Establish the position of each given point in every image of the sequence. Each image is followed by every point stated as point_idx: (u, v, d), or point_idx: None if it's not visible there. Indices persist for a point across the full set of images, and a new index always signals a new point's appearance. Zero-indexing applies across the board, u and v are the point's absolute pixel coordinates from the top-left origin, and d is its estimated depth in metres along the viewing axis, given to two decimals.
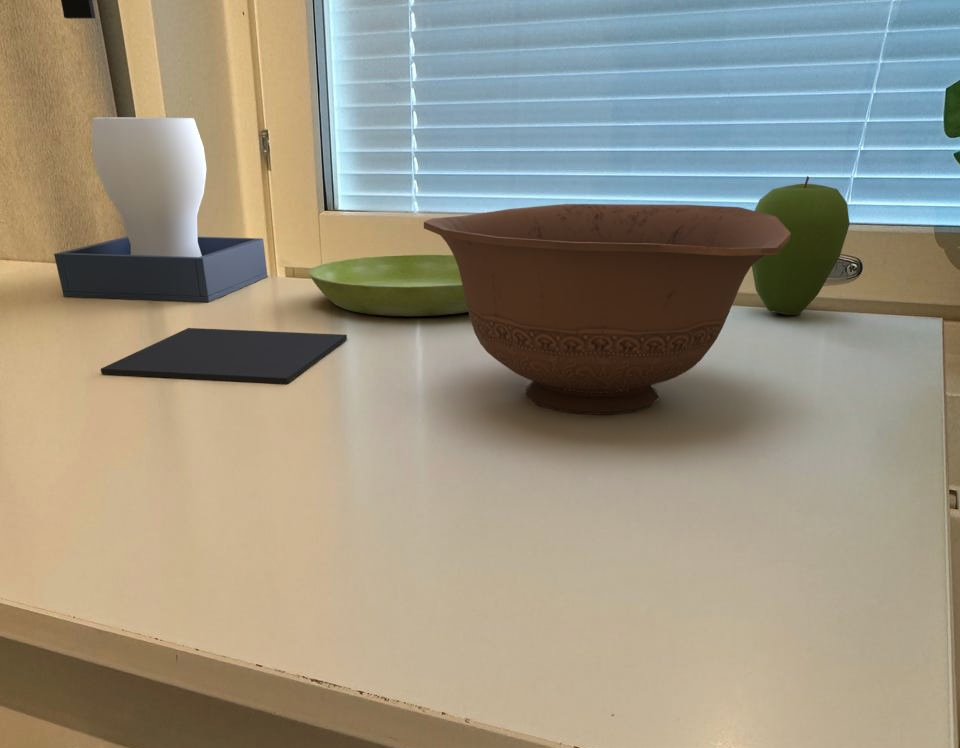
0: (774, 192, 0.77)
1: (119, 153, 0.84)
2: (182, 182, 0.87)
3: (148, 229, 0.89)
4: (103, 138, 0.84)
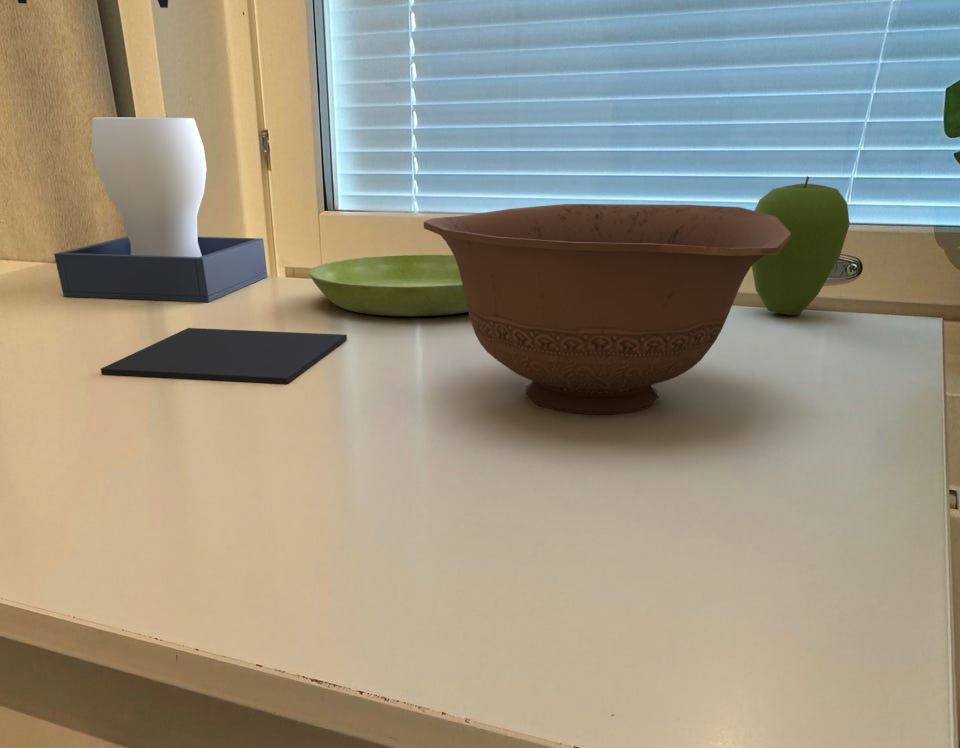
0: (774, 192, 0.77)
1: (119, 153, 0.84)
2: (182, 182, 0.87)
3: (148, 229, 0.89)
4: (103, 138, 0.84)
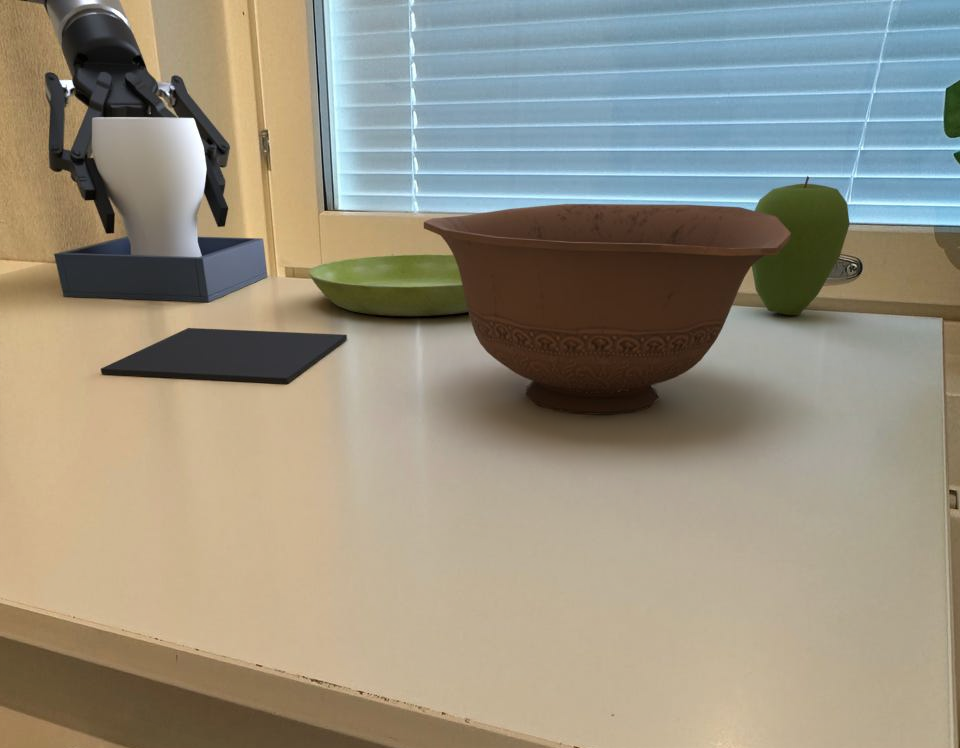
0: (774, 192, 0.77)
1: (119, 153, 0.84)
2: (182, 182, 0.87)
3: (148, 229, 0.89)
4: (103, 138, 0.84)
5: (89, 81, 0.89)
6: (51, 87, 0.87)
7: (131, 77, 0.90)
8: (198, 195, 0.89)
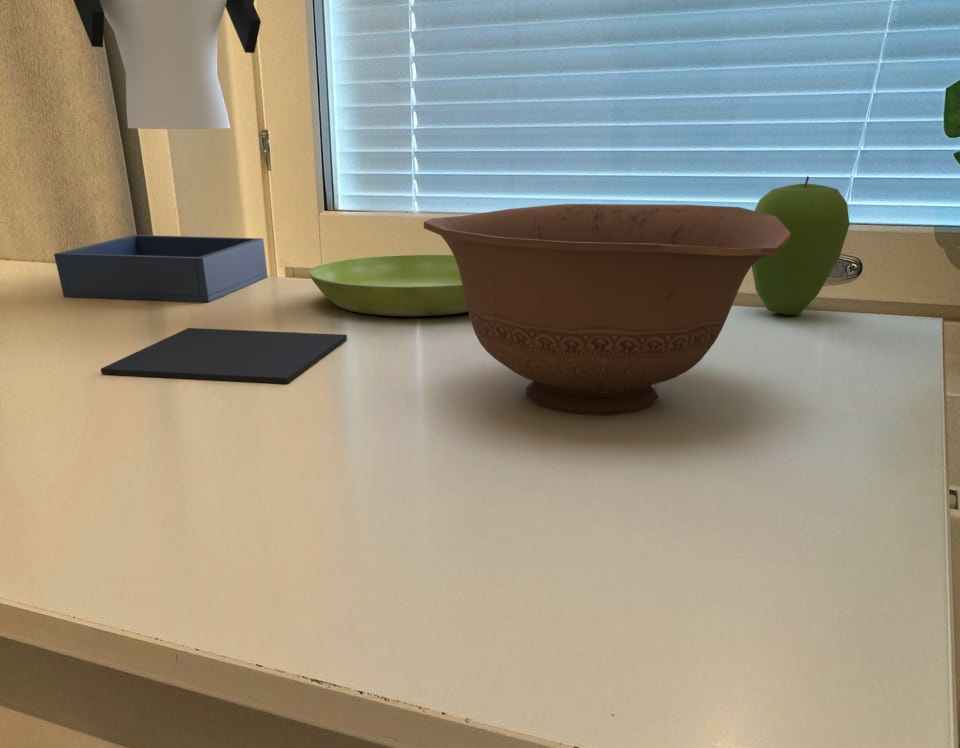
0: (774, 192, 0.77)
1: None
2: None
3: (151, 44, 0.64)
4: None
5: None
6: None
7: None
8: None
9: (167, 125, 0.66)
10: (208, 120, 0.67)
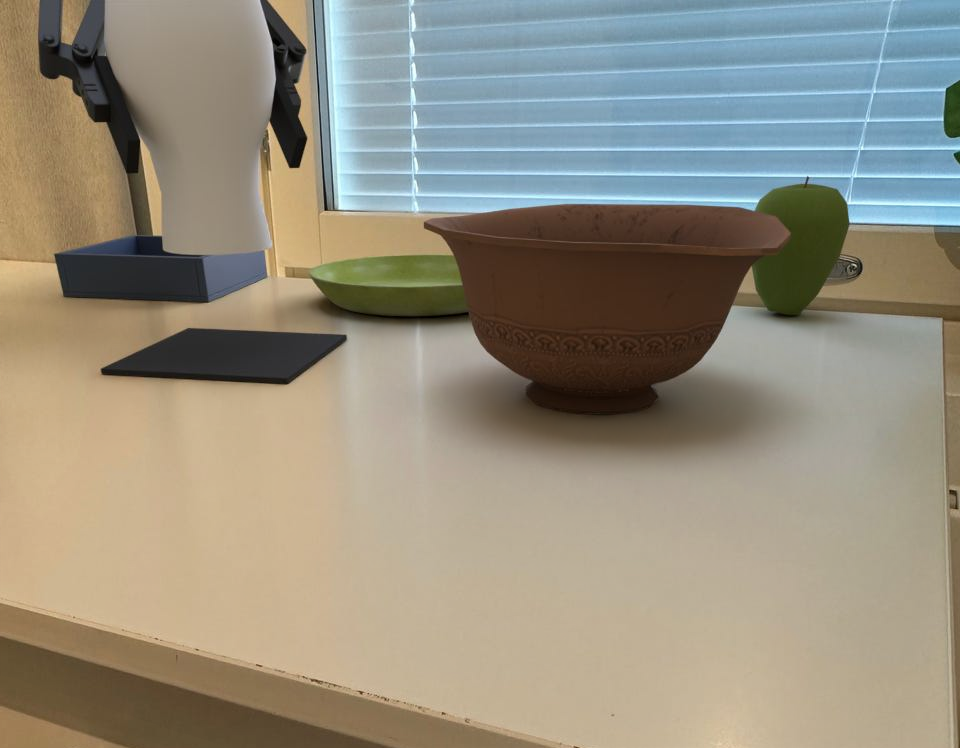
0: (774, 192, 0.77)
1: (148, 44, 0.54)
2: (243, 94, 0.57)
3: (190, 168, 0.59)
4: (123, 21, 0.54)
5: None
6: None
7: None
8: (264, 117, 0.59)
9: (206, 251, 0.61)
10: (250, 243, 0.62)
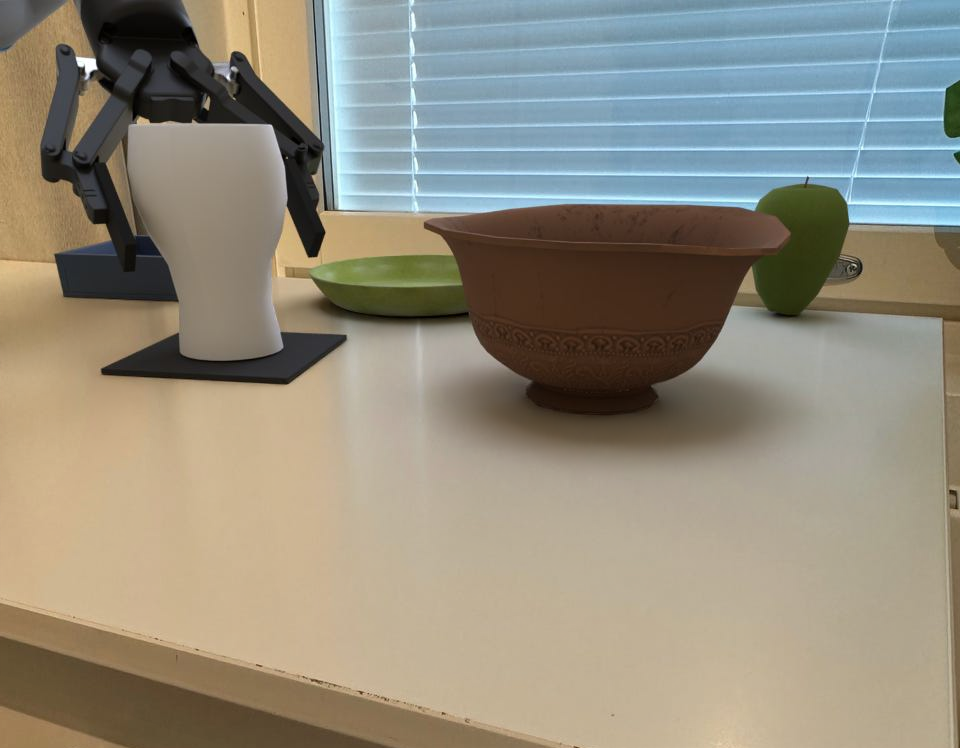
0: (774, 192, 0.77)
1: (169, 176, 0.57)
2: (257, 217, 0.60)
3: (207, 283, 0.62)
4: (145, 154, 0.58)
5: (120, 63, 0.63)
6: (61, 64, 0.61)
7: (179, 57, 0.64)
8: (276, 234, 0.63)
9: (221, 357, 0.65)
10: (262, 348, 0.66)
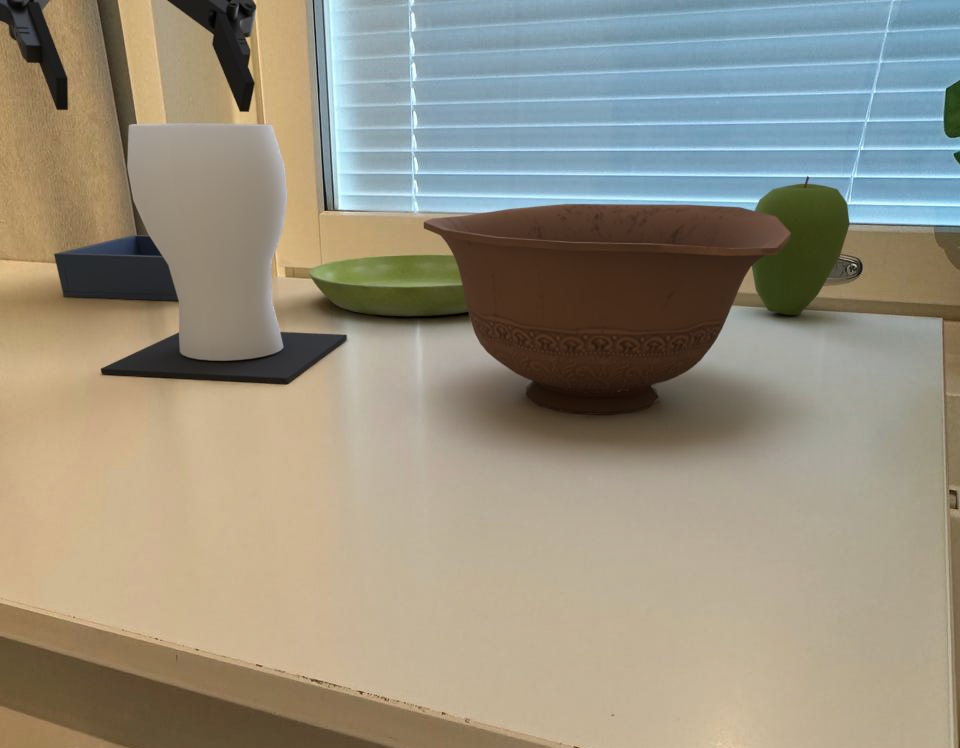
0: (774, 192, 0.77)
1: (169, 176, 0.57)
2: (257, 217, 0.60)
3: (207, 283, 0.62)
4: (146, 154, 0.58)
5: None
6: None
7: None
8: (276, 234, 0.63)
9: (221, 357, 0.65)
10: (262, 348, 0.66)
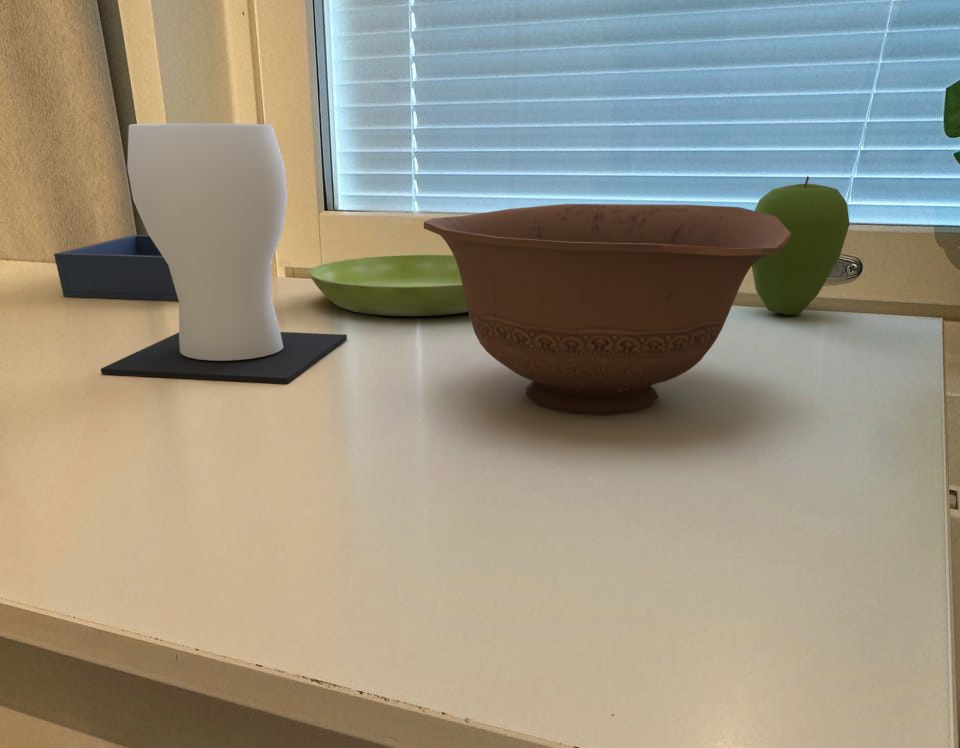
0: (774, 192, 0.77)
1: (169, 176, 0.57)
2: (257, 217, 0.60)
3: (207, 283, 0.62)
4: (146, 154, 0.58)
5: None
6: None
7: None
8: (277, 234, 0.63)
9: (221, 357, 0.65)
10: (262, 348, 0.66)
